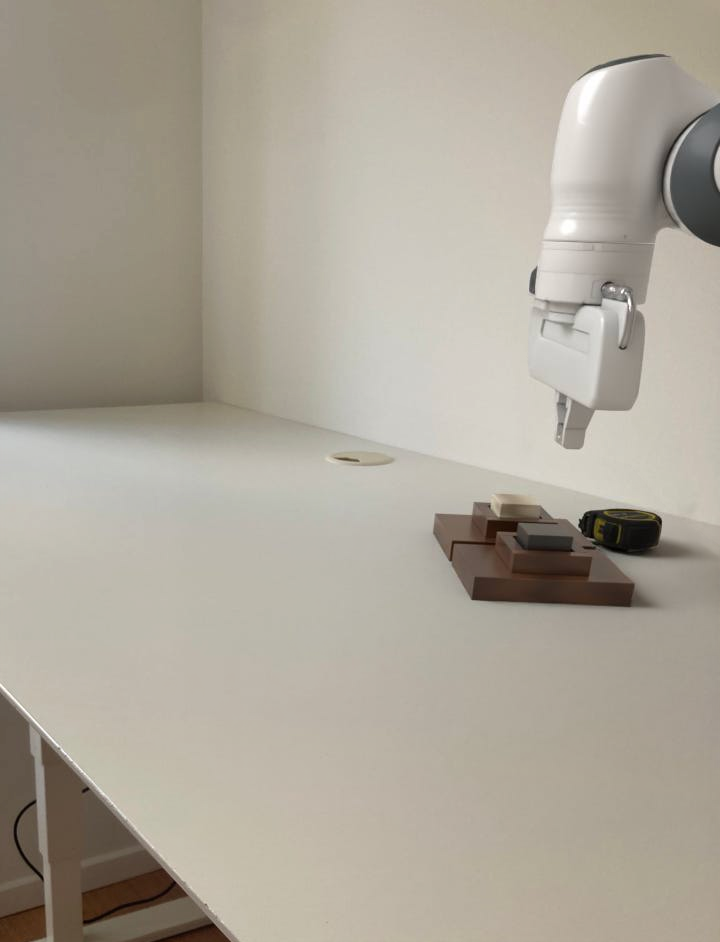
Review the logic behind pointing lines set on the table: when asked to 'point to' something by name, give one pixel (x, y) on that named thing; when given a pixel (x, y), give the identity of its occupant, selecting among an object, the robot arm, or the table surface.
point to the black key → (544, 537)
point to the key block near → (540, 574)
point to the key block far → (489, 528)
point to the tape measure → (622, 528)
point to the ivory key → (515, 506)
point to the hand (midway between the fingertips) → (567, 446)
